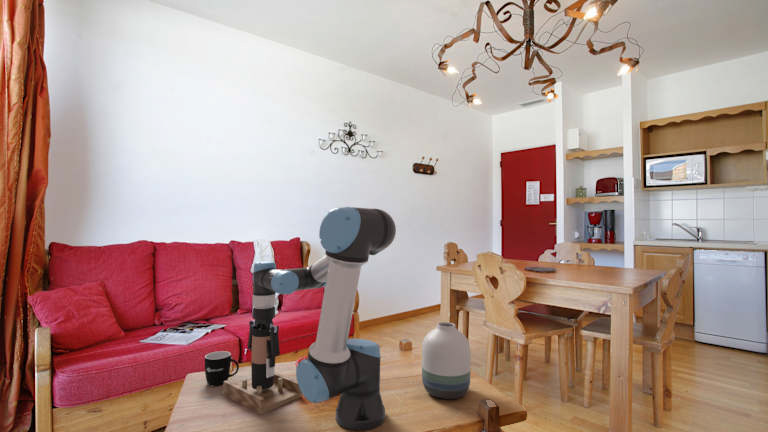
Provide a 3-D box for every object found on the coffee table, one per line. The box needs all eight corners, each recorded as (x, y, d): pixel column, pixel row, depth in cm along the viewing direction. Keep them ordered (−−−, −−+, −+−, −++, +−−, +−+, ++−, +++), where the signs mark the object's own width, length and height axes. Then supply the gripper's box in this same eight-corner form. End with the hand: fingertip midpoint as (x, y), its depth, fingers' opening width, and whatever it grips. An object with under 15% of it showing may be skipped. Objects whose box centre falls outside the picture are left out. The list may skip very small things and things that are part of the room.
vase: (412, 387, 137) (413, 321, 138) (450, 379, 145) (450, 316, 145) (440, 408, 122) (440, 333, 123) (480, 397, 130) (480, 327, 130)
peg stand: (301, 396, 129) (301, 380, 129) (261, 414, 116) (261, 396, 116) (263, 379, 142) (263, 365, 143) (223, 394, 130) (223, 378, 130)
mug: (200, 388, 135) (200, 359, 135) (209, 378, 144) (209, 351, 144) (235, 387, 136) (235, 358, 136) (241, 377, 145) (242, 350, 145)
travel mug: (250, 382, 132) (251, 325, 132) (273, 379, 134) (274, 323, 135) (251, 391, 125) (252, 330, 125) (275, 388, 127) (276, 328, 128)
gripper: (291, 308, 127) (290, 377, 126) (256, 301, 139) (255, 363, 139) (273, 312, 121) (271, 384, 120) (237, 304, 134) (236, 369, 133)
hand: (262, 373), depth 130 cm, fingers open, 8 cm apart
